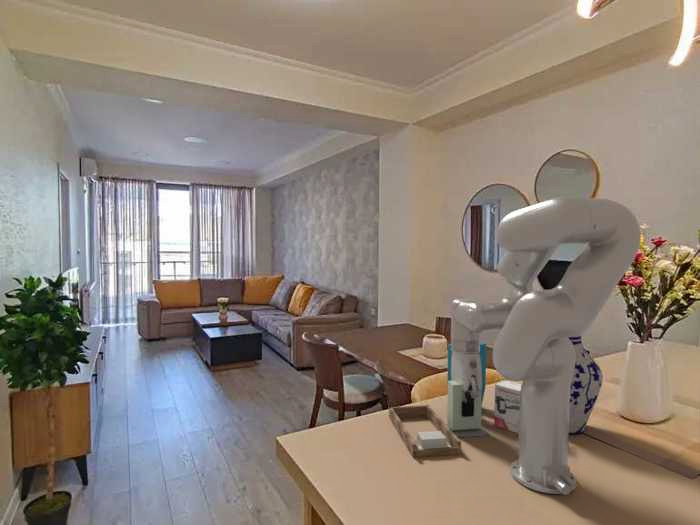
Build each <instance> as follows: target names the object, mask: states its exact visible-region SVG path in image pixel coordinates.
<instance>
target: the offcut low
mask: <svg viewBox="0 0 700 525" xmlns="http://www.w3.org/2000/svg"><path fill="white" fill-rule="evenodd" d="M412 439H413V440H414V442H415V443H416V449H427V448H422V447H421V446H420V444H419V443H418V441H417V438H412ZM445 447H451V446H450V444H449V443H448V442H447V441H446V446H445ZM429 448H442V447H429Z"/></svg>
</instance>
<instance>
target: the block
mask: <svg viewBox="0 0 700 525" xmlns="http://www.w3.org/2000/svg"><path fill="white" fill-rule="evenodd" d="M479 354H480V359H481V369H482V396H481V407H482V406H483V400H484V396H485V390H486V377H487V376H486V375H487V374H486V373H487V371H486V370H487V369H486V368H487V343H486V342H483V341H480V352H479ZM451 359H452V351H451V343H448V344H447V373H446V374H447V379H446V381H447V382H446V383H447V384H446V385H447V388H446V389H447V391H448V381H452V380H451Z"/></svg>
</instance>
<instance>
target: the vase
mask: <svg viewBox="0 0 700 525" xmlns="http://www.w3.org/2000/svg"><path fill="white" fill-rule="evenodd" d="M582 335H583V334H581V335H578V336H575V337H569V339H570V341H571V342H572V344H573V346H574V348H575V352H576V362H575V368H574V372H573V376H572V381H571V387H570V402H569V436H571V435H572V436H574V435H575V436H576V435H580V434H583V432H584V431H585V428H586V425H587V423H588V421H589V419H590V416H591V414H592V412H593V409H594V406H595V405H596V402H597V401H598V397H599V394H600V391H601V389H602V385H603V378H604V376H603V372H602V370H601V368H600V365H599V364H598V363H597V362H596V360H594V358H593V357H592V356H591V355H590V354H589V353H588V351H587V350H586V349H585V347H584V346H583V345H584V344H583V343H582Z"/></svg>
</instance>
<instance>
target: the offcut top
mask: <svg viewBox="0 0 700 525" xmlns="http://www.w3.org/2000/svg"><path fill="white" fill-rule="evenodd" d="M416 439H417V441H418V443H419V444H420V446H421V447H422V448H429V447H445V446H446V437H445V436H444V435H443V434H442V432H441V431H438V430H434V431H433V430H432V431H431V430H430V431H429V430H428V431H417V432H416Z"/></svg>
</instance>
